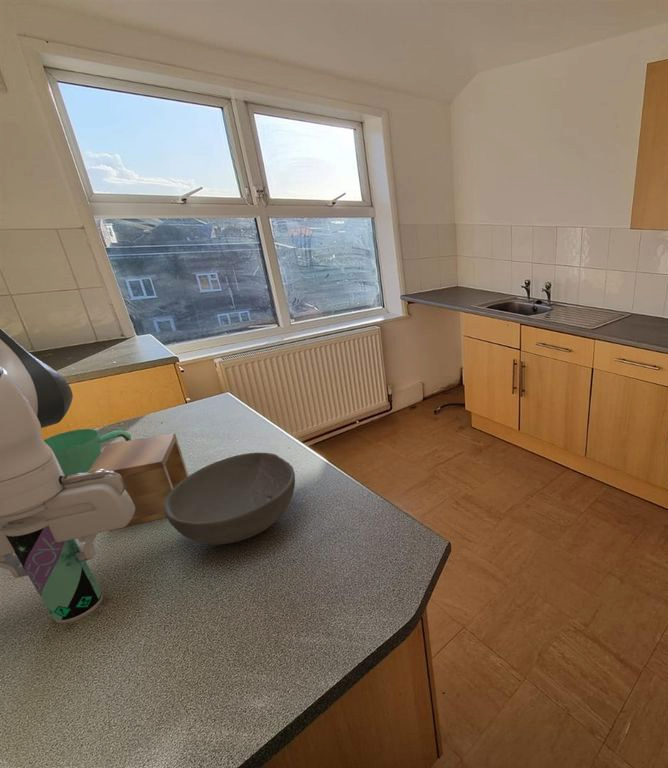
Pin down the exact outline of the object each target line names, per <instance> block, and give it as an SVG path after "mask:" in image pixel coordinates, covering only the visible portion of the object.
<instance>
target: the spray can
mask: <svg viewBox="0 0 668 768" xmlns="http://www.w3.org/2000/svg"><path fill="white" fill-rule="evenodd" d="M46 520H47V517H45V518H42V517H34V516H28V517H25V518H21V519H17V520H13V521H11V522H9V523H8V524H6V525H5V526H4V527H2V529H4V530H5V532H4V534H5V536H6V537H7V539H8V541H9V542H10V544H11V546H12V547H13V549H14V551H15V553H14V555H16V556H17V557H18V559H19V561H20V562H21V564H22V566H23V567H24V569H25V571H26V573H27V574H28V575H27V576H28V578H29V579H30V581H31V584H32V585H33V587H34V588H35V590H36V591H37V593H38V595H39V597H40V599H41V600H42V602H43V604H44V606H45V607H46V609H47V610H48V612H49V614H50V616H51V617H52V619H53V620H54V622H55V623H57V624H70V623H73V622H76V621H79V620H82V619H83V618H85V617H87V616H88V615H91V614H92V613H93V612H94V611H96V610H97V608H99V606H100V605H101V604H102V602H103V600H104V594H103V593H102V590H101V589H100V586H99V584H98V583H97V581H96V579H95V576H94V574H93V572H92V571H91V568H90V567H89V564H88V563H87V560H86V561H82V562H78V558H76V556H75V553H76V551H77V550H78V548H79V544H78V542H77V540H76V539H72V540H67V541H63V542H57V541H56V540H55V539H54V537H53V534H52V532H51V530H50V528H49V525H48V523H45V522H44V521H46Z"/></svg>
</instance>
